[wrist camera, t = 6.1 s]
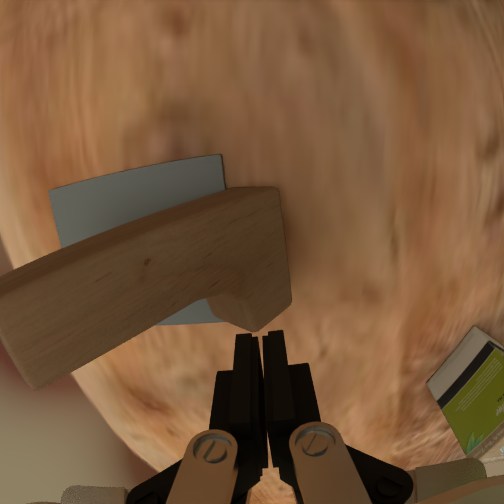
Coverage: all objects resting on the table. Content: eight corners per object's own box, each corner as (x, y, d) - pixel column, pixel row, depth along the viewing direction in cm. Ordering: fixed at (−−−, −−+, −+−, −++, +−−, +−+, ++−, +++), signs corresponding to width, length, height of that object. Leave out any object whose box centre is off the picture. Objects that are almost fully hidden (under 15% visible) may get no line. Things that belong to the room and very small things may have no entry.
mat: (221, 154, 21) (220, 154, 21) (243, 316, 26) (243, 320, 26) (52, 189, 22) (48, 190, 21) (91, 323, 27) (88, 326, 26)
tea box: (511, 349, 29) (560, 408, 16) (471, 397, 33) (509, 461, 19) (473, 321, 27) (541, 400, 13) (422, 382, 30) (468, 471, 16)
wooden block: (294, 304, 22) (82, 455, 10) (251, 292, 25) (59, 409, 13) (280, 185, 19) (-18, 306, 7) (232, 186, 22) (-12, 280, 10)
